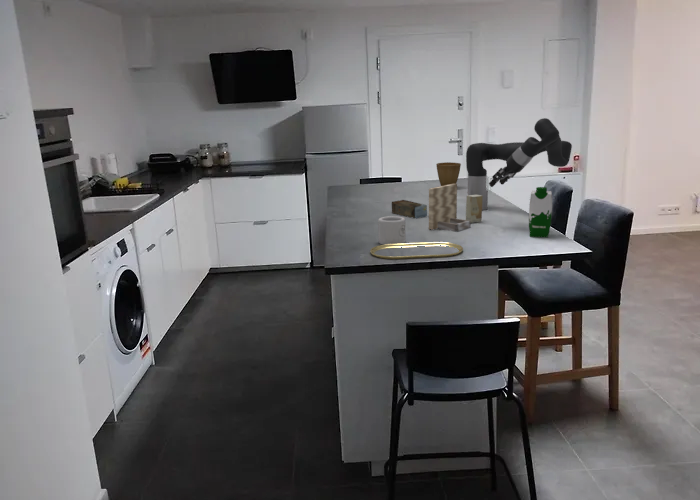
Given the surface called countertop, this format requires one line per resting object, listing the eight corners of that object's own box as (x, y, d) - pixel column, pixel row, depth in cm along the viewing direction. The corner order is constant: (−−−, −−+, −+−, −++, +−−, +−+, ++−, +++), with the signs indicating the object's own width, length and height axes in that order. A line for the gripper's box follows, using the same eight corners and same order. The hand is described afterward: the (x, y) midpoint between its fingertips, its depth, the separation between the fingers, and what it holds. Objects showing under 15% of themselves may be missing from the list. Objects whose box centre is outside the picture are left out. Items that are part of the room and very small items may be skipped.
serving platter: (368, 248, 229) (368, 245, 229) (456, 245, 231) (456, 241, 231) (372, 261, 211) (372, 257, 211) (468, 257, 213) (468, 253, 213)
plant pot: (431, 189, 365) (431, 164, 361) (446, 186, 375) (446, 161, 371) (450, 192, 355) (450, 165, 351) (465, 189, 364) (465, 163, 360)
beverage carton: (414, 219, 281) (414, 205, 279) (390, 213, 297) (390, 200, 295) (427, 217, 285) (427, 203, 284) (403, 211, 301) (403, 198, 299)
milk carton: (527, 237, 238) (529, 188, 233) (528, 232, 246) (530, 185, 241) (550, 238, 235) (553, 188, 230) (550, 233, 243) (553, 185, 238)
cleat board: (452, 222, 270) (453, 183, 265) (475, 225, 261) (476, 185, 257) (428, 229, 258) (428, 188, 253) (451, 233, 249) (452, 191, 245)
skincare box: (471, 223, 267) (471, 196, 264) (465, 221, 271) (465, 195, 268) (482, 221, 270) (483, 195, 267) (476, 220, 274) (476, 194, 271)
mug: (397, 247, 229) (397, 222, 227) (373, 244, 235) (373, 219, 232) (413, 239, 240) (412, 215, 238) (389, 237, 246) (389, 213, 244)
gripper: (516, 167, 242) (492, 192, 252) (533, 163, 251) (509, 188, 262) (505, 154, 244) (481, 179, 255) (522, 151, 254) (499, 176, 264)
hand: (495, 184), depth 258 cm, fingers open, 8 cm apart
